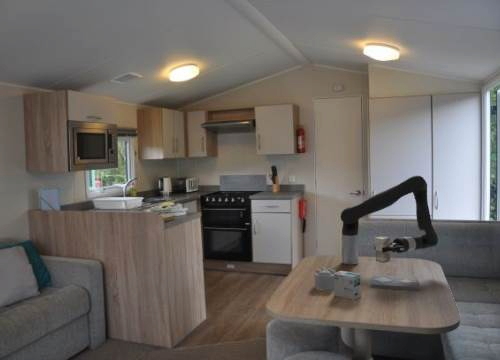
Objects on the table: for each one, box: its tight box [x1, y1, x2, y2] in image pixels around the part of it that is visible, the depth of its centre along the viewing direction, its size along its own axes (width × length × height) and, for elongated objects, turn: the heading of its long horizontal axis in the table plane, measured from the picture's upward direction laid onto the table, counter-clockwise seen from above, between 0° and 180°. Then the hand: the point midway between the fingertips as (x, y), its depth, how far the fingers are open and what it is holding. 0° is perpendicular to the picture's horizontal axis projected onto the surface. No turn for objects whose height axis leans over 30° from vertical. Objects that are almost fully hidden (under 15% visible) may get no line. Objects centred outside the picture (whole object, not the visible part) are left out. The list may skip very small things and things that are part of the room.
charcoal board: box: [369, 274, 420, 292], centre depth 214 cm, size 22×16×2 cm
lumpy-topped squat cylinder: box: [314, 267, 337, 291], centre depth 214 cm, size 10×13×9 cm
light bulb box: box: [333, 270, 362, 301], centre depth 198 cm, size 11×7×11 cm, turn 47°
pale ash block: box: [374, 235, 391, 264], centre depth 215 cm, size 5×5×12 cm
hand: (378, 249), depth 214 cm, fingers closed on pale ash block, 5 cm apart
